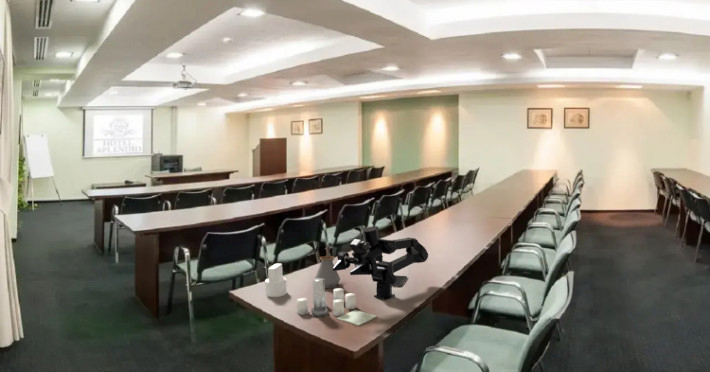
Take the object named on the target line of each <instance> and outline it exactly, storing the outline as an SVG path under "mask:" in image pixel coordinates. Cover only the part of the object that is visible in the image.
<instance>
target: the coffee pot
mask: <svg viewBox="0 0 710 372" xmlns="http://www.w3.org/2000/svg"><path fill="white" fill-rule="evenodd" d="M325 248H326V255H325V256H319V260H320V262H321V263H320V264H319V268H318V270H317V272H316V275H315V278H314V279H316V278H323V279H325V289H330V288H335V287H336V286H337V285H338V284H339V283H340V280H341V277H340V276H339V274H338V271H333V267H334V266H335V264H334V260H335V258H336V257H334V256H333V255H330V249H331V248H332V247H331V246H329V245H327V246H326V247H325Z"/></svg>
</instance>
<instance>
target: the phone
mask: <svg viewBox="0 0 710 372" xmlns="http://www.w3.org/2000/svg"><path fill="white" fill-rule="evenodd" d="M394 275H395V276H396V283H394V284H392V286H398V287H397V288H401V287H400V286H402V285H403V286H404V284H405V283H404V282H406V281H407V280H406V278H407V279H408V276H406V275H396V274H394ZM405 280H406V281H405ZM403 283H404V284H403ZM403 286H402V287H403Z"/></svg>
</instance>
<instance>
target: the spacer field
mask: <svg viewBox="0 0 710 372" xmlns="http://www.w3.org/2000/svg"><path fill="white" fill-rule="evenodd" d="M344 292H345V291H344V288H338V287H337V288H334V289H333V300H332V313H333V316H335V317H341V316H343V315H345V309H346V310H356V307H357V302H356V293H354V292H353V293H350V292H349V293H344ZM344 294H345V295H344ZM344 298H345V299H344ZM308 304H309V301H308V299H307V298H306V297H300V298H297V299H296V308H297V309H296V313H297V314H298V315H303V316H304V315H307V314H308V313H309V305H308ZM325 307H326V308H327V293H326V292H325Z"/></svg>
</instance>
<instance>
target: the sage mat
mask: <svg viewBox="0 0 710 372" xmlns="http://www.w3.org/2000/svg"><path fill="white" fill-rule="evenodd" d="M375 318H377V315H375V314H372V313H371V314H370V313H368V312H364V311H362V310H361V311H360V310H356V309H353V310H352V311H350V312H348V313H344V315H342V316H337V320H338V321H342V322H346V323H348V324H352V325H356V326H361V325H363V324H365V323H368V322H369V321H371V320H373V319H375Z"/></svg>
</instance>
